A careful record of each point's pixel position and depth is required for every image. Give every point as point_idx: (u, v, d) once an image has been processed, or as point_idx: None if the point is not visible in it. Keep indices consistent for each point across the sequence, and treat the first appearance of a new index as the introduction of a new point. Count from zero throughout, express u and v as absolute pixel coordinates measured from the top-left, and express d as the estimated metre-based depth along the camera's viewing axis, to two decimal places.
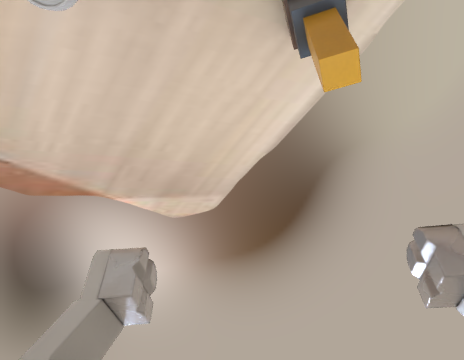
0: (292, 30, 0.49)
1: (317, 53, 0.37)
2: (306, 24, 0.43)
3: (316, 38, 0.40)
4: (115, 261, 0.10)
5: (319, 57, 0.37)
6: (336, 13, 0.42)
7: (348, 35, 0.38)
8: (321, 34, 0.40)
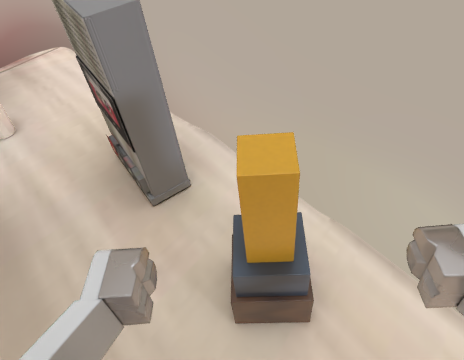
0: (281, 297, 0.32)
1: (238, 188, 0.24)
2: (245, 248, 0.29)
3: None
4: (115, 261, 0.10)
5: (237, 178, 0.23)
6: None
7: None
8: None
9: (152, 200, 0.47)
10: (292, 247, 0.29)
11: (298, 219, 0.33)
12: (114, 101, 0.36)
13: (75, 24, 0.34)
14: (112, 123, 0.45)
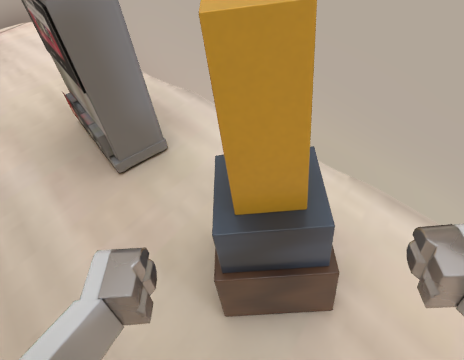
0: (290, 271, 0.21)
1: (205, 49, 0.13)
2: None
3: None
4: (115, 261, 0.10)
5: (200, 23, 0.13)
6: None
7: None
8: None
9: (117, 165, 0.36)
10: (304, 181, 0.18)
11: (310, 155, 0.23)
12: (45, 8, 0.26)
13: None
14: (60, 64, 0.35)
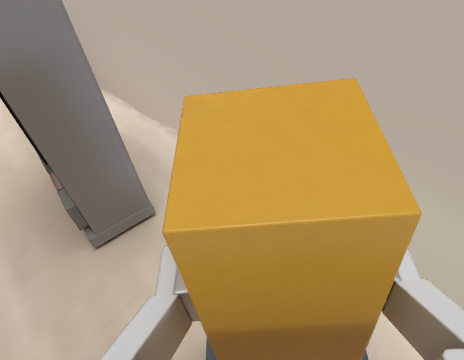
0: None
1: None
2: None
3: None
4: None
5: None
6: None
7: None
8: None
9: (92, 240, 0.30)
10: None
11: None
12: None
13: None
14: None
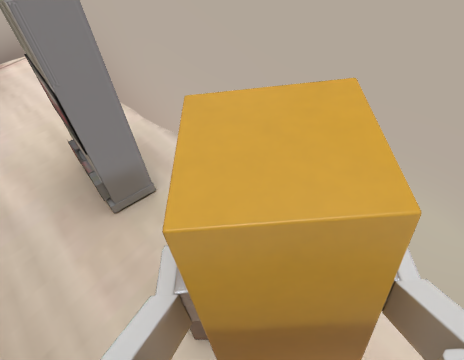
0: None
1: None
2: None
3: None
4: None
5: None
6: None
7: None
8: None
9: (112, 207, 0.43)
10: None
11: None
12: (56, 97, 0.33)
13: (8, 14, 0.31)
14: (66, 125, 0.42)
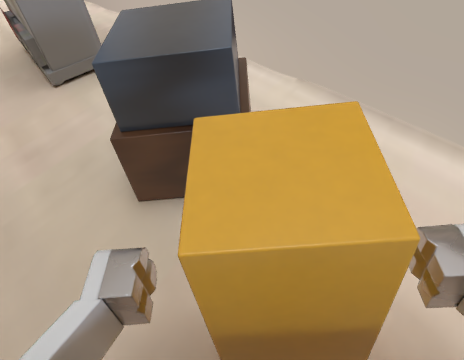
0: None
1: None
2: None
3: None
4: (115, 261, 0.10)
5: None
6: None
7: None
8: None
9: (49, 75, 0.33)
10: None
11: (224, 1, 0.20)
12: None
13: None
14: None
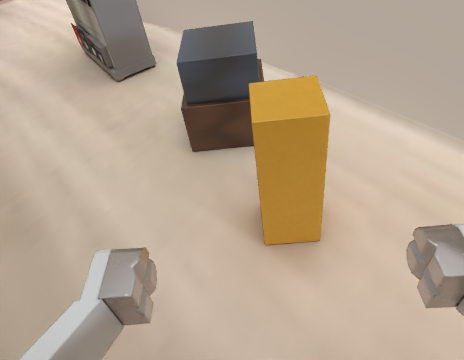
0: (233, 100, 0.31)
1: None
2: (263, 226, 0.25)
3: None
4: (115, 261, 0.10)
5: (252, 127, 0.19)
6: None
7: None
8: None
9: (115, 73, 0.46)
10: (318, 221, 0.24)
11: (249, 24, 0.32)
12: None
13: None
14: None
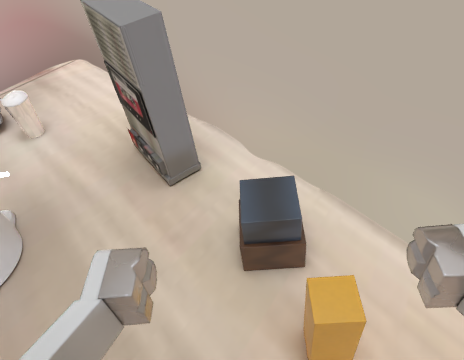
0: (280, 242, 0.41)
1: (313, 329, 0.29)
2: None
3: (310, 338, 0.32)
4: (115, 261, 0.10)
5: (313, 324, 0.28)
6: (304, 324, 0.37)
7: (306, 297, 0.33)
8: (309, 333, 0.32)
9: (169, 180, 0.55)
10: (350, 359, 0.34)
11: (291, 180, 0.42)
12: (140, 93, 0.45)
13: (109, 33, 0.43)
14: (135, 116, 0.54)
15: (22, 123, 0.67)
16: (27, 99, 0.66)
